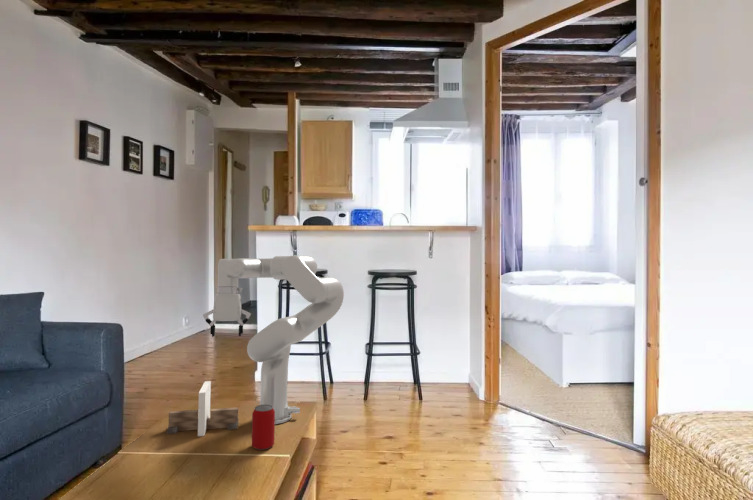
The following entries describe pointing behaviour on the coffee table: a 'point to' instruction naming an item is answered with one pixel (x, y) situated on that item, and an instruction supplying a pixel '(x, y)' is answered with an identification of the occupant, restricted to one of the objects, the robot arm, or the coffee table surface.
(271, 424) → the beverage can
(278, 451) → the coffee table surface
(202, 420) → the pale notched plate
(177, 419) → the walnut slotted board
